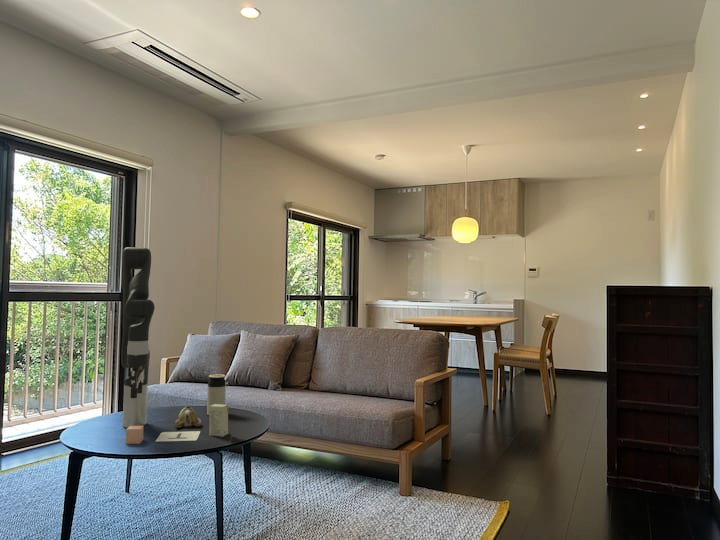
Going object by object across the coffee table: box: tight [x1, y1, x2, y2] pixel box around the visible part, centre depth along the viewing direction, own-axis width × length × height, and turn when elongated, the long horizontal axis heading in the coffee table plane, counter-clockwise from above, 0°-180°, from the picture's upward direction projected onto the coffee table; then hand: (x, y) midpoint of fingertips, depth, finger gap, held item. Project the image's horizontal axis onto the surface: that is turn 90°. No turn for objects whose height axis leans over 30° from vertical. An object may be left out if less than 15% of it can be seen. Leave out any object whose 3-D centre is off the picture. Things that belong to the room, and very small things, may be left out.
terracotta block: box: [125, 425, 144, 445], centre depth 198 cm, size 5×5×6 cm
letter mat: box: [154, 430, 201, 443], centre depth 207 cm, size 13×15×1 cm
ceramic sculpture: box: [174, 405, 202, 429], centre depth 224 cm, size 11×9×15 cm
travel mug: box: [206, 373, 227, 416], centre depth 246 cm, size 8×8×18 cm
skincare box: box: [208, 404, 229, 437], centre depth 210 cm, size 6×4×12 cm
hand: (136, 395), depth 199 cm, fingers open, 8 cm apart
